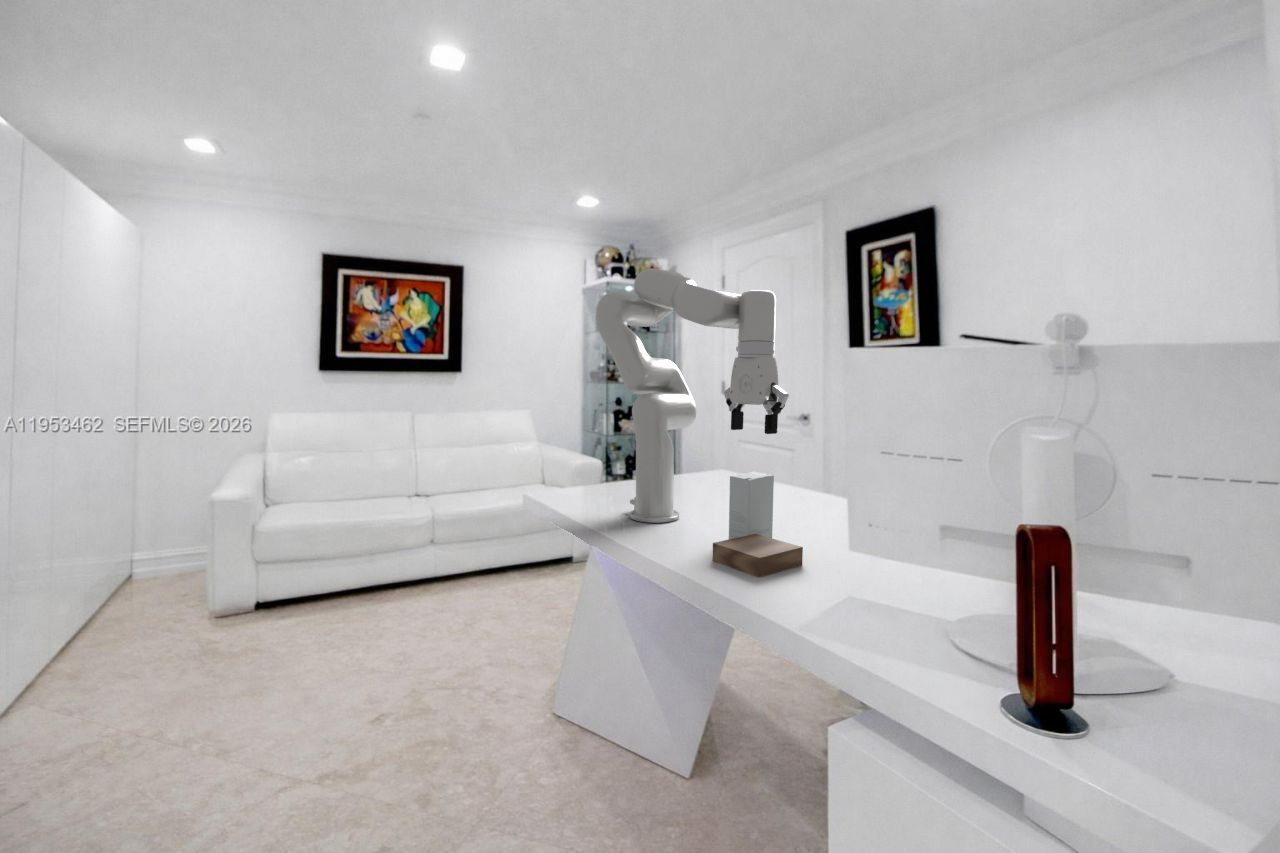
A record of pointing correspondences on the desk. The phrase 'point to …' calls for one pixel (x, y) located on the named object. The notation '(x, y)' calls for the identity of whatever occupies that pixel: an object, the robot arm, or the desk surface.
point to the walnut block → (757, 554)
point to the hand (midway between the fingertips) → (753, 431)
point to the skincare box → (751, 504)
